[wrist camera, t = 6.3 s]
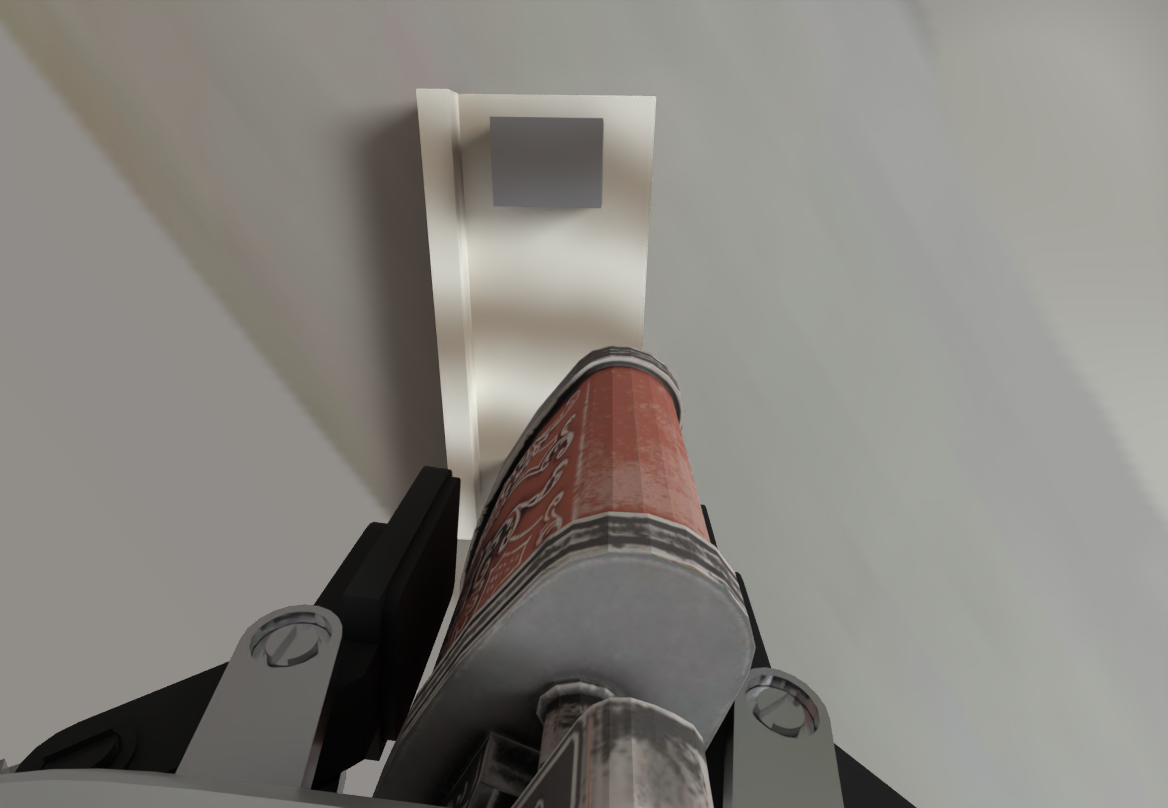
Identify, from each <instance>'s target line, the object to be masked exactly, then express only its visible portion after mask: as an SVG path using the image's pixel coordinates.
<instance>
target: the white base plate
mask: <svg viewBox="0 0 1168 808" xmlns="http://www.w3.org/2000/svg"><path fill="white" fill-rule="evenodd" d="M416 95H417V106H418V118H419V130H420V142H421V154H422V166H423V178H424V190H425V202H426V214H427V226H428V238H429V250H430V261H431V273H432V285H433V297H434V309H435V321H436V333H437V345H438V357H439V369H440V381H441V393H442V405H443V416H444V428H445V440H446V452H447V464H448V469H450V470H452V477H458V478H460V479H461V488H460V505H459V521H458V537H457V539H469V540H472V537H473V533H474V530H475V528H476V525H477V522H478V520H479V517H480V515H481V512H482V510H483V508H484V505H485V503H486V501H487V498H488V496H489V494H490V492H491V489H492V487H493V485H494V483H495V480H496V478H497V476H498V474H499V471H500V469H501V467H502V465H503V462H504V460H505V459H506V457H507V456H508V454H509V453H510V451H511V450H512V448H513V446H514V445H515V443H516V442H517V440H518V439H519V437H520V436H521V434H522V433H523V431H524V430H525V428H526V426H527V425H528V423H529V422H530V420H531V419H532V417H533V416H534V414H535V413H536V411H537V410H538V408H539V407H540V406H541V405H542V404H543V402H544V401H545V400H546V399H547V398H548V397H549V395H550V394H551V393H552V392H553V391H554V389H555V388H556V387H557V386H558V385H559V384H560V382H561V381H562V380H563V379H564V378H565V377H566V375H567V374H568V373H569V372H570V371H571V369H572V368H573V367H574V366H575V365H576V364H577V362H578V361H579V360H581V359H582V358H583V357H585V356H586V355H587V354H589V353H590V352H591V351H593V350H596V349H600V348H603V347H607V346H610V345H613V346H631V347H634V348H637V349H640V350H642V341H643V323H644V305H645V287H646V269H647V251H648V233H649V215H650V197H651V179H652V161H653V143H654V125H655V107H656V96H594V95H513V94H457V93H455V92H453V91H451V90H449V89H416Z"/></svg>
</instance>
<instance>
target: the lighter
mask: <svg viewBox="0 0 1168 808" xmlns="http://www.w3.org/2000/svg"><path fill="white" fill-rule="evenodd" d="M684 413H685V411H684V407H683V403H682V399H681V395H680V391H679V388H678V385H677V381H676V379H675V378H674V376H673V375H672V374H671V372H670V371H669V369H668V368H667V366H666V365H665V364H664V363H662V362H661V361H660V360H658V359H657V358H656V357H654V356H653V355H652V354H650V353H648V352H645V351H642V350H640V349H637V348H634V347H631V346H613V345H610V346H607V347H603V348H600V349H596V350H593V351H591V352H590V353H589V354H587V355H586V356H585V357H583V358H582V359H581V360H579V361H578V362H577V364H576V365H575V366H574V367H573V368H572V369H571V371H570V372H569V373H568V374H567V375H566V377H565V378H564V379H563V380H562V381H561V382H560V384H559V385H558V386H557V387H556V388H555V389H554V391H553V392H552V393H551V394H550V395H549V397H548V398H547V399H546V400H545V401H544V402H543V404H542V405H541V406H540V407H539V408H538V410H537V411H536V413H535V414H534V416H533V417H532V419H531V420H530V422H529V423H528V425H527V426H526V428H525V430H524V431H523V433H522V434H521V436H520V437H519V439H518V440H517V442H516V443H515V445H514V446H513V448H512V450H511V451H510V453H509V454H508V456H507V457H506V459H505V460H504V462H503V465H502V467H501V469H500V471H499V474H498V476H497V478H496V480H495V483H494V485H493V487H492V489H491V492H490V494H489V496H488V498H487V501H486V503H485V505H484V508H483V510H482V512H481V515H480V517H479V520H478V522H477V525H476V528H475V530H474V533H473V537H472V540H471V544H470V547H469V551H468V555H467V558H466V562H465V565H464V569H463V573H462V576H461V580H460V597H459V600H458V602H457V605H456V608H455V611H454V614H453V617H452V619H451V622H450V625H449V628H448V630H447V633H446V636H445V639H444V642H443V644H442V647H441V650H440V653H439V656H438V658H437V661H436V664H435V667H434V670H433V672H432V674H431V676H430V677H429V679H428V680H427V681H426V683H425V684H424V686H423V687H422V688H421V690H420V691H419V692H418V694H417V696H416V698H415V700H414V703H413V705H412V707H411V709H410V711H409V713H408V716H407V718H406V720H405V722H404V724H403V726H402V729H401V731H400V733H399V735H398V737H397V740H396V742H395V744H394V746H393V748H392V751H391V753H390V755H389V757H388V759H387V762H386V764H385V766H384V768H383V771H382V773H381V776H380V779H379V781H378V784H377V786H376V789H375V792H374V794H373V797H372V798H379V799H387V800H395V801H402V802H410V803H418V804H426V805H433V806H441V807H448V808H714V807H713V801H712V794H711V788H710V782H709V776H708V769H707V763H706V757H705V751H706V750H707V748H708V746H709V744H710V743H711V741H712V739H713V737H714V735H715V734H716V732H717V730H718V728H719V727H720V725H721V723H722V721H723V719H724V718H725V716H726V714H727V712H728V711H729V709H730V707H731V705H732V703H733V702H734V700H735V698H736V696H737V695H738V693H739V691H740V689H741V687H742V686H743V684H744V682H745V680H746V679H747V677H748V675H749V672H750V668H751V664H752V660H753V656H754V653H755V649H756V647H755V642H754V638H753V634H752V630H751V625H750V621H749V617H748V614H747V611H746V607H745V604H744V601H743V598H742V594H741V591H740V588H739V584H738V581H737V578H736V575H735V572H734V571H733V569H732V568H731V567H730V565H729V564H728V563H727V561H726V560H725V559H724V557H723V556H722V555H721V553H720V552H719V551H718V549H717V548H716V547H715V546H714V545H713V544H711V543H710V539H709V535H708V532H707V528H706V524H705V520H704V516H703V513H702V509H701V505H700V501H699V498H698V494H697V490H696V486H695V482H694V479H693V475H692V471H691V467H690V463H689V460H688V456H687V452H686V448H685V445H684V441H683V437H682V433H681V429H682V425H683V419H684Z"/></svg>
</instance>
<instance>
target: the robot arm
mask: <svg viewBox="0 0 1168 808" xmlns="http://www.w3.org/2000/svg"><path fill="white" fill-rule="evenodd" d="M460 488H461V479H460V478H458V477H452V470H450V469H443V468H436V467H429V466H424V467H423V468H422V470H421V472H420V473H419V475H418V476H417V478H416V480H415V481H414V483H413V484H412V486H411V487H410V489H409V491H408V492H407V494H406V495H405V497H404V499H403V500H402V502H401V503H400V505H399V506H398V508H397V510H396V511H395V513H394V514H393V516H392V517H391V519H390V521H389V522H388V524H385V523H378V522H373V523H370V524H369V526H368V527H367V528H366V529H365V531H364V532H363V534H362V535H361V537H360V538H359V540H358V541H357V542H356V544H355V545H354V547H353V548H352V550H351V552H350V553H349V554H348V556H347V557H346V559H345V560H344V561H343V563H342V565H341V566H340V567H339V569H338V570H337V572H336V573H335V575H334V576H333V578H332V579H331V581H330V582H329V583H328V585H327V586H326V588H325V589H324V591H323V592H322V594H321V595H320V597H319V598H318V599H317V601H316V603H315V604H314V605H297V606H289V607H285V608H282V609H279V610H276V611H273V612H271V613H269V614H267V615H265V616H264V617H262V618H260V619H259V620H258V621H256V622H255V623H254V624H252V625H251V626H250V627H249V628H248V629H247V630H246V632H245V633H244V634H243V636H242V637H241V639H240V641H239V643H238V645H237V647H236V649H235V651H234V653H233V655H232V657H231V659H230V661H229V662H226V663H224V664H222V665H219V666H217V667H214V668H212V669H209V670H207V671H204V672H202V673H199V674H197V675H194V676H192V677H189V678H187V679H185V680H182V681H180V682H177V683H175V684H172V685H170V686H167V687H165V688H162V689H160V690H157V691H155V692H152V693H150V694H147V695H145V696H142V697H140V698H137V699H135V700H133V701H130V702H128V703H125V704H123V705H120V706H118V707H115V708H113V709H110V710H108V711H105V712H103V713H100V714H98V715H96V716H93V717H91V718H88V719H86V720H83V721H81V722H78V723H76V724H74V725H72V726H70V727H68V728H66V729H64V730H62V731H60V732H58V733H56V734H55V735H54V736H52V737H50V738H49V739H48V740H46V741H45V742H43V743H42V744H41V745H39V746H38V747H36V748H35V749H34V750H33V751H32V752H31V753H30V754H29V755H28V756H27V757H26V758H25V759H24V760H23V761H22V762H21V763H20V764H17V765H15V766H11V767H7V764H6V761H5V759H2V760H0V808H448V807H441V806H433V805H426V804H418V803H410V802H402V801H395V800H387V799H379V798H371V797H363V796H355V795H348V794H343V789H344V784H345V780H346V770H347V769H348V768H350V767H352V766H354V765H355V764H357V763H359V762H360V761H362V760H364V759H368V760H375V761H379V760H380V757H381V755H382V752H383V749H384V747H385V745H386V742H387V740H392V741H396V740H397V737H398V735H399V733H400V731H401V729H402V726H403V724H404V722H405V720H406V718H407V715H408V713H409V710H410V707H411V705H412V702H413V699H414V697H415V694H416V691H417V689H418V686H419V683H420V680H421V678H422V675H423V672H424V670H425V667H426V664H427V662H428V659H429V656H430V654H431V651H432V648H433V646H434V643H435V640H436V638H437V635H438V632H439V629H440V627H441V624H442V622H443V619H444V616H445V614H446V611H447V608H448V606H449V603H450V600H451V597H452V594H453V589H454V583H455V569H456V553H457V537H458V521H459V505H460ZM700 505H701V504H700ZM701 509H702V513H703V516H704V520H705V524H706V528H707V532H708V535H709V539H710V543H711V544H713V545H714V546H715V547H716V548H717V545H716V541H715V538H714V534H713V531H712V527H711V524H710V520H709V516H708V513H707V509H706V507H705V505H701ZM735 575H736V578H737V581H738V584H739V588H740V591H741V594H742V598H743V601H744V604H745V607H746V611H747V614H748V617H749V621H750V625H751V630H752V634H753V638H754V642H755V647H756V649H755V653H754V656H753V660H752V664H751V668H750V672H749V675H748V677H747V679H746V680H745V682H744V684H743V686H742V687H741V689H740V691H739V693H738V695H737V696H736V698H735V700H734V702H733V703H732V705H731V707H730V709H729V711H728V712H727V714H726V716H725V718H724V719H723V721H722V723H721V725H720V727H719V728H718V730H717V732H716V734H715V735H714V737H713V739H712V741H711V743H710V744H709V746H708V748H707V750H706V751H705V757H706V763H707V769H708V776H709V782H710V788H711V794H712V801H713V807H714V808H916V807H915V806H914V805H912V804H911V803H910V802H908V801H907V800H906V799H905V798H903V797H902V796H901V795H900V794H898V793H897V792H896V791H894V790H893V789H892V788H891V787H889V786H888V785H887V784H885V783H884V782H883V781H882V780H880V779H879V778H878V777H877V776H875V775H874V774H873V773H871V772H870V771H869V770H868V769H866V768H865V767H864V766H862V765H861V764H860V763H859V762H857V761H856V760H855V759H854V758H852V757H851V756H850V755H848V754H847V753H846V752H845V751H843V750H842V749H841V748H840V747H838V746H837V745H836V744H834V741H833V735H832V729H831V723H830V718H829V715H828V712H827V709H826V707H825V705H824V704H823V702H822V701H821V699H820V698H819V696H818V695H817V694H816V693H815V692H814V691H813V690H812V689H811V688H810V687H809V686H808V685H807V684H805V683H804V682H802V681H801V680H799V679H798V678H796V677H795V676H793V675H791V674H788V673H786V672H783V671H781V670H778V669H772V668H771V666H770V663H769V660H768V657H767V654H766V651H765V648H764V644H763V641H762V638H761V635H760V632H759V629H758V626H757V623H756V619H755V616H754V613H753V610H752V607H751V604H750V601H749V598H748V594H747V591H746V588H745V585H744V582H743V579H742V577H741V575H740V574H739V573H738V572H735Z"/></svg>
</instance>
